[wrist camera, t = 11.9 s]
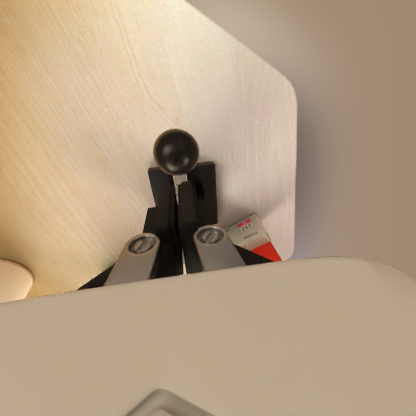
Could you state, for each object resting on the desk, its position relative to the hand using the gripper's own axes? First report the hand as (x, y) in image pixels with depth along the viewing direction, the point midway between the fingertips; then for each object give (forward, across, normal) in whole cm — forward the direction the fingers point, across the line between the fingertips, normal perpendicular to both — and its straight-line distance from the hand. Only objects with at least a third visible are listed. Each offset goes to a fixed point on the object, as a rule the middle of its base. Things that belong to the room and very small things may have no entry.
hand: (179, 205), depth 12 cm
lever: (+8, 0, +4) cm, 9 cm away
